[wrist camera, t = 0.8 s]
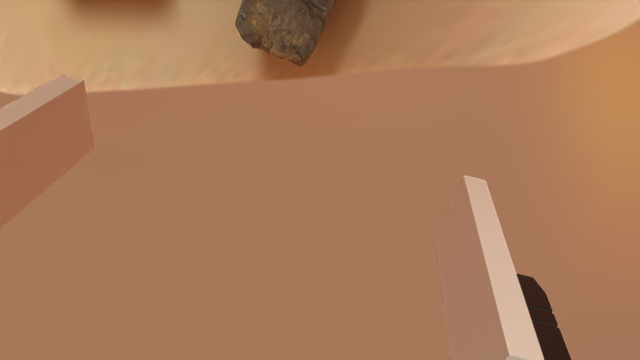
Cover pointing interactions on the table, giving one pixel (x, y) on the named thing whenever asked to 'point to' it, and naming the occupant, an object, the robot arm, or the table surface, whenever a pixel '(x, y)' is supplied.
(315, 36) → the rock
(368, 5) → the table surface
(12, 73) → the table surface
